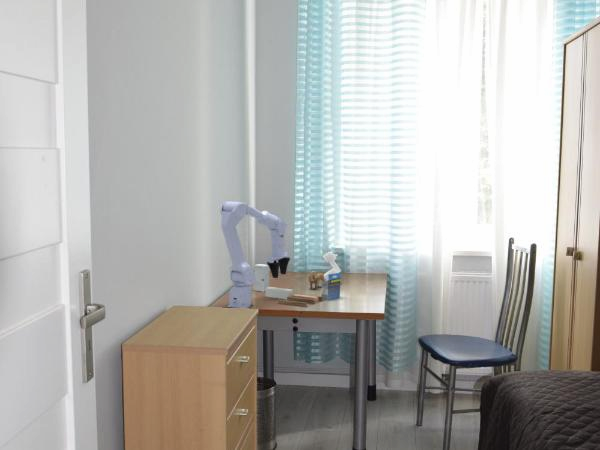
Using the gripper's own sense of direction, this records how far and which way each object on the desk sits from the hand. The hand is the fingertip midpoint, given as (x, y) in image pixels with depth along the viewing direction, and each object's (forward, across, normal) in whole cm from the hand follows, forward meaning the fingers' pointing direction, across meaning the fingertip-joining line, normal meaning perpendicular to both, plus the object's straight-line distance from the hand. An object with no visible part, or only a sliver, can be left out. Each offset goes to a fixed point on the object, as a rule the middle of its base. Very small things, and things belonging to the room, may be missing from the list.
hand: (279, 276), depth 314 cm
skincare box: (+11, +14, +17) cm, 25 cm away
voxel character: (+14, +48, -4) cm, 50 cm away
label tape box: (+12, +8, -20) cm, 25 cm away
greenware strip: (+11, -1, 0) cm, 11 cm away
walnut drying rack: (+10, -6, -13) cm, 17 cm away
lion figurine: (+13, +32, -3) cm, 35 cm away
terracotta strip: (+10, -2, -13) cm, 16 cm away
